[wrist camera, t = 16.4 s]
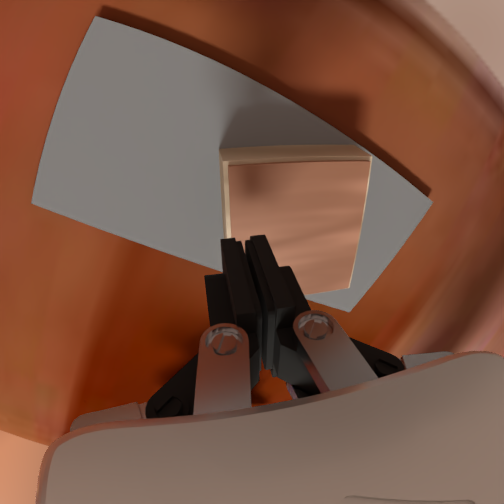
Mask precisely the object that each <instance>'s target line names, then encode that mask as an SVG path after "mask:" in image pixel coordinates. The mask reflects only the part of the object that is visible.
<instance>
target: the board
mask: <svg viewBox="0 0 504 504" xmlns="http://www.w3.org/2000/svg"><path fill="white" fill-rule="evenodd" d="M371 164H372V156H371V155H370V154H368V153H366V152H365V151H363V150H361V149H360V148H358V147H357V146H355V145H277V146H256V147H239V148H225V149H219V166H220V184H221V202H222V218H223V234H224V239H226V238H235V239H236V241H241V242H242V245H243V249H244V252H245V240H250V236H254V235H265V236H266V238H267V240H268V242H269V245H270V247H271V249H272V252H273V254H274V256H275V259H276V261H277V263H278V266H279V267H281V266H290V267H291V268H292V270H293V273H294V275H295V277H296V279H297V281H298V283H299V285H300V287H301V290H302V292H303V294H304V295H309V294H315V293H322V292H328V291H334V290H340V289H346V288H350V283H351V279H352V274H353V269H354V265H355V260H356V255H357V250H358V245H359V239H360V234H361V229H362V223H363V217H364V211H365V205H366V199H367V193H368V186H369V179H370V172H371Z"/></svg>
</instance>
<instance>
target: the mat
mask: <svg viewBox="0 0 504 504" xmlns="http://www.w3.org/2000/svg"><path fill="white" fill-rule="evenodd" d="M277 145H355V146H357V147H358V148H360V149H361V150H363V151H365V152H366V153H368V154H370V155H371V156H372V164H371V172H370V179H369V186H368V193H367V199H366V205H365V211H364V217H363V223H362V229H361V234H360V239H359V245H358V250H357V255H356V260H355V265H354V269H353V274H352V279H351V283H350V288H346V289H340V290H334V291H328V292H322V293H315V294H309V295H304V296H305V298H306V299H308V300H311V301H314V302H317V303H321V304H324V305H327V306H330V307H334V308H337V309H340V310H343V311H347V312H350V311H351V310H352V308H353V307H354V306H355V305H356V304H357V303H358V301H359V300H360V299H361V298H362V297H363V295H364V294H365V293H366V292H367V290H368V289H369V288H370V287H371V286H372V284H373V283H374V282H375V281H376V279H377V278H378V277H379V276H380V274H381V273H382V272H383V270H384V269H385V268H386V267H387V265H388V264H389V263H390V261H391V260H392V259H393V258H394V256H395V255H396V254H397V252H398V251H399V250H400V248H401V247H402V246H403V244H404V243H405V241H406V240H407V239H408V237H409V236H410V235H411V233H412V232H413V230H414V229H415V228H416V226H417V225H418V223H419V222H420V221H421V219H422V218H423V216H424V215H425V213H426V212H427V211H428V209H429V208H430V206H431V205H432V203H433V202H432V201H431V200H430V199H429V198H427V197H426V196H425V195H424V194H423V193H422V192H420V191H419V190H418V189H417V188H415V187H414V186H413V185H412V184H411V183H409V182H408V181H407V180H406V179H404V178H403V177H402V176H401V175H399V174H398V173H397V172H395V171H394V170H393V169H392V168H390V167H389V166H388V165H386V164H385V163H384V162H382V161H381V160H380V159H378V158H377V157H376V156H374V155H373V154H372V153H370V152H369V151H367V150H366V149H365V148H363V147H362V146H360V145H359V144H358V143H356V142H355V141H353V140H352V139H350V138H349V137H347V136H346V135H345V134H343V133H342V132H340V131H339V130H337V129H336V128H334V127H332V126H331V125H329V124H328V123H326V122H325V121H323V120H322V119H320V118H319V117H317V116H315V115H314V114H312V113H310V112H309V111H307V110H306V109H304V108H302V107H301V106H299V105H297V104H296V103H294V102H292V101H291V100H289V99H287V98H285V97H284V96H282V95H280V94H278V93H277V92H275V91H273V90H271V89H269V88H268V87H266V86H264V85H262V84H260V83H258V82H256V81H254V80H253V79H251V78H249V77H247V76H245V75H243V74H241V73H239V72H237V71H235V70H233V69H231V68H229V67H227V66H225V65H223V64H221V63H218V62H216V61H214V60H212V59H210V58H208V57H205V56H203V55H201V54H199V53H196V52H194V51H192V50H189V49H187V48H185V47H182V46H180V45H177V44H175V43H173V42H170V41H168V40H165V39H162V38H160V37H157V36H155V35H152V34H149V33H146V32H144V31H141V30H138V29H135V28H132V27H129V26H126V25H123V24H120V23H117V22H114V21H110V20H107V19H104V18H100V17H97V16H95V18H94V19H93V21H92V23H91V25H90V27H89V29H88V31H87V33H86V35H85V37H84V39H83V42H82V44H81V46H80V48H79V50H78V52H77V55H76V57H75V59H74V62H73V64H72V66H71V69H70V71H69V74H68V76H67V79H66V81H65V84H64V86H63V89H62V92H61V94H60V97H59V100H58V103H57V106H56V109H55V112H54V115H53V118H52V121H51V124H50V128H49V131H48V134H47V138H46V141H45V145H44V149H43V152H42V156H41V160H40V164H39V169H38V173H37V177H36V182H35V187H34V192H33V197H32V202H31V203H32V204H34V205H37V206H40V207H42V208H45V209H47V210H50V211H53V212H55V213H58V214H61V215H63V216H66V217H69V218H71V219H74V220H77V221H79V222H82V223H85V224H87V225H90V226H93V227H96V228H98V229H101V230H104V231H107V232H109V233H112V234H115V235H118V236H120V237H123V238H126V239H129V240H132V241H134V242H137V243H140V244H143V245H146V246H149V247H151V248H154V249H157V250H160V251H163V252H166V253H169V254H171V255H174V256H177V257H180V258H183V259H186V260H189V261H192V262H195V263H198V264H201V265H204V266H207V267H209V268H212V269H215V270H218V271H221V272H223V270H222V257H221V243H220V239H224V234H223V218H222V202H221V184H220V166H219V149H225V148H239V147H256V146H277Z"/></svg>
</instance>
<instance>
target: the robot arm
mask: <svg viewBox="0 0 504 504" xmlns="http://www.w3.org/2000/svg"><path fill="white" fill-rule="evenodd" d="M220 243H221V257H222V270H223V274H214V275H205V276H204V277H205V286H206V295H207V303H208V312H209V320H210V327H209V328H208V329H207V330H205V332H204V333H203V334H202V336H201V339H200V345H199V353H198V354H197V355H196V356H195V357H194V358H192V359H191V360H190V361H189V362H188V363H187V364H186V365H185V366H184V367H183V368H182V369H181V370H180V371H179V372H178V373H177V374H175V375H174V376H173V377H172V378H171V379H170V380H169V381H168V382H167V383H166V384H165V385H164V386H163V387H161V388H160V389H159V390H158V391H157V392H156V393H155V394H154V395H153V396H152V397H151V398H150V399H149V401H148V402H147V403H143V404H139V405H138V403H137V402H135V403H131V404H127V405H123V406H119V407H114V408H110V409H106V410H101V411H97V412H92V413H87V414H84V415H81V416H79V417H78V418H76V419H75V420H74V421H73V423H72V425H71V428H70V432H69V433H67V434H65V435H63V436H62V437H60V438H58V439H57V440H55V441H54V442H53V443H52V444H51V445H50V446H49V447H48V449H47V451H46V452H45V454H44V457H43V460H42V463H41V467H40V472H39V476H38V483H37V492H36V504H504V358H503V357H502V356H501V355H499V354H496V353H493V352H487V351H470V352H462V353H457V354H454V353H451V352H445V351H444V352H435V353H425V354H414V355H402V357H401V359H398V358H397V357H396V356H394V355H392V354H390V353H387V352H385V351H382V350H380V349H377V348H375V347H372V346H370V345H367V344H365V343H362V342H360V341H357V340H355V339H352V338H350V337H348V336H347V334H346V333H345V332H344V330H343V329H342V328H341V326H340V325H339V323H338V322H337V321H336V320H335V319H334V318H333V317H332V316H331V315H329V314H328V313H326V312H322V311H317V310H311V309H310V307H309V305H308V303H307V300H306V298H305V296H304V294H303V292H302V290H301V287H300V285H299V283H298V281H297V279H296V277H295V275H294V273H293V270H292V268H291V267H290V266H281V267H279V266H278V263H277V261H276V259H275V256H274V254H273V252H272V249H271V247H270V245H269V242H268V240H267V238H266V236H265V235H254V236H250V240H245V252H244V249H243V245H242V242H241V241H236V239H235V238H226V239H220ZM261 357H262V361H263V364H264V368H265V370H267V369H270V370H271V374H272V377H278V378H280V379H282V380H284V381H286V386H287V389H288V391H289V393H290V395H291V397H292V399H293V400H290V401H285V402H279V403H274V404H268V405H263V406H257V407H251V390H252V389H253V387H254V386H255V385H256V384H257V383H258V381H259V371H261Z"/></svg>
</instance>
